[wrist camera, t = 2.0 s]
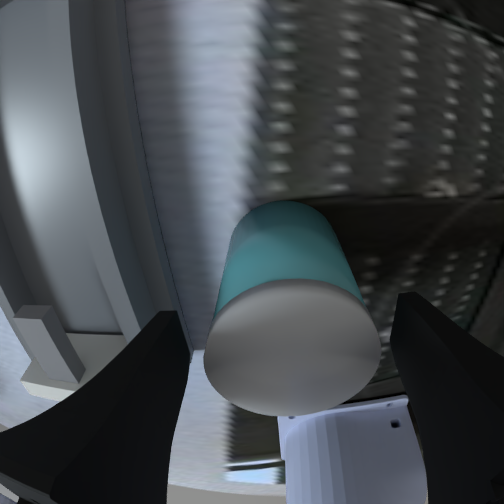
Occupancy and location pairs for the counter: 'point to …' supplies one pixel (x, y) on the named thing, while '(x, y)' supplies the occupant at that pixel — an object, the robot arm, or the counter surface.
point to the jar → (289, 317)
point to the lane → (76, 173)
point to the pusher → (61, 353)
